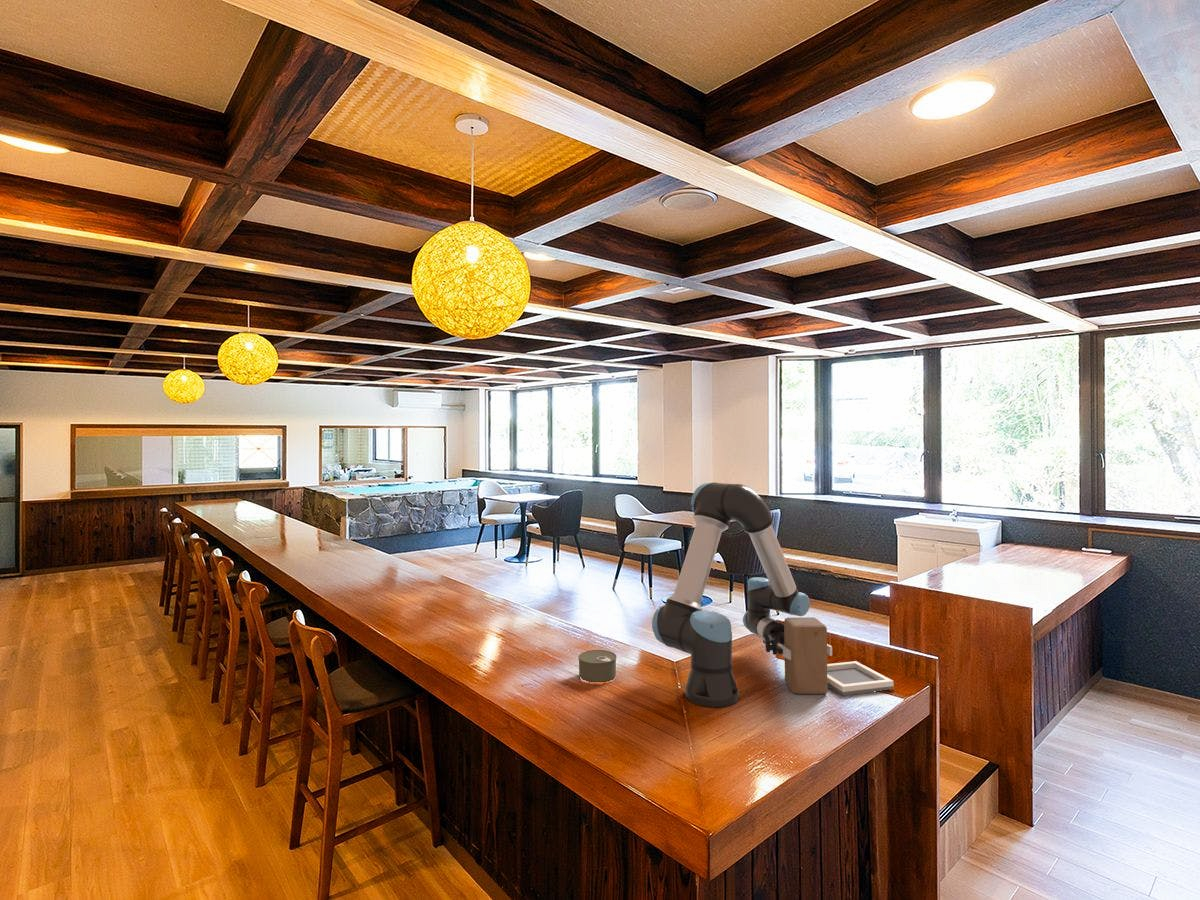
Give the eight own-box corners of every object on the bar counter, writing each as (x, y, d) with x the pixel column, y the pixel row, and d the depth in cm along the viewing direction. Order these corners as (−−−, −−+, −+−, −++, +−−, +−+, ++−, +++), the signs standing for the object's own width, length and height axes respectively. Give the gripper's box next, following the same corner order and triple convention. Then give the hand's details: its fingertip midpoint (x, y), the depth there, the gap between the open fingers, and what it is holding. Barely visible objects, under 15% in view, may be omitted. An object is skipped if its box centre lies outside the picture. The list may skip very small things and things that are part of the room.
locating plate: (842, 696, 171) (842, 686, 171) (809, 674, 188) (809, 666, 188) (893, 690, 175) (893, 680, 175) (856, 669, 192) (855, 661, 192)
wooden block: (828, 695, 172) (828, 626, 172) (794, 695, 172) (793, 626, 172) (816, 681, 182) (816, 616, 182) (783, 681, 182) (783, 616, 182)
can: (598, 668, 196) (598, 647, 196) (624, 678, 187) (624, 656, 187) (570, 677, 187) (570, 656, 187) (596, 688, 179) (596, 665, 179)
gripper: (807, 640, 199) (847, 661, 178) (739, 646, 193) (772, 669, 173) (807, 617, 199) (847, 637, 178) (738, 623, 193) (772, 644, 173)
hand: (810, 653), depth 175 cm, fingers open, 13 cm apart
